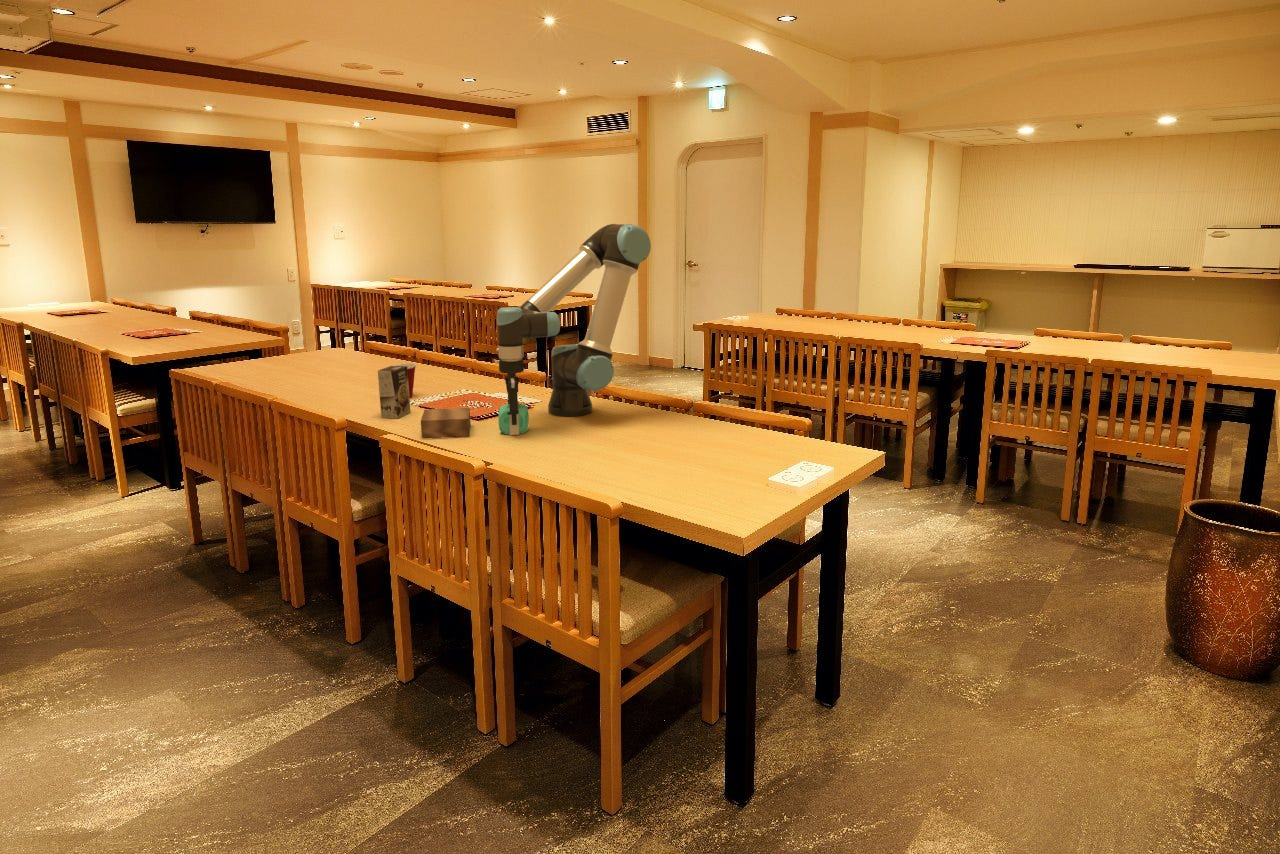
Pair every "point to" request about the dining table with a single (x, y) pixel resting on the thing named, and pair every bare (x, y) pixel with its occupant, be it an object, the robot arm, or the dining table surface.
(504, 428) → the decorative dice
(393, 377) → the coffee box
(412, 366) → the plastic cup
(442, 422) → the walnut block
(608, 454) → the dining table surface
